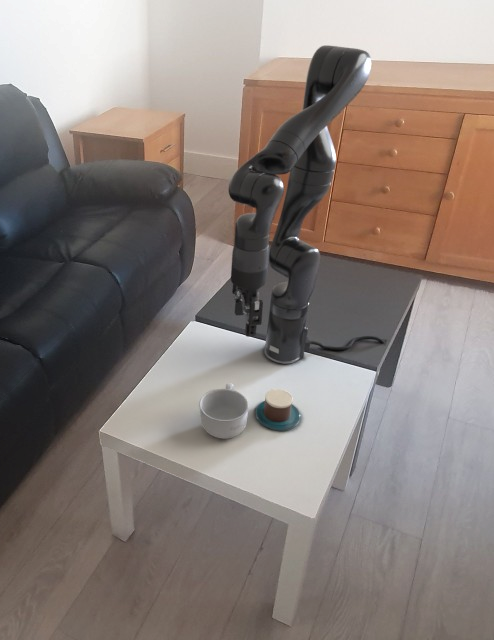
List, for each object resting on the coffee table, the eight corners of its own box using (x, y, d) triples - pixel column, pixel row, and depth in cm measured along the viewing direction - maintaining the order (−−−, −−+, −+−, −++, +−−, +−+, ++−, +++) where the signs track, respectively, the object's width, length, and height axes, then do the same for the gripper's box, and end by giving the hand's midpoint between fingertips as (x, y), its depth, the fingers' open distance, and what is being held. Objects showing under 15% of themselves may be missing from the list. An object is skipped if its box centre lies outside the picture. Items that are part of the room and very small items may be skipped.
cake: (285, 403, 142) (287, 387, 139) (293, 421, 137) (296, 405, 134) (260, 405, 142) (262, 390, 139) (267, 423, 137) (269, 407, 134)
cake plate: (291, 399, 144) (291, 396, 143) (305, 428, 136) (306, 426, 135) (250, 403, 144) (251, 400, 143) (262, 432, 136) (263, 430, 135)
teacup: (235, 451, 132) (238, 426, 127) (191, 435, 137) (191, 410, 132) (256, 413, 141) (259, 387, 136) (214, 399, 146) (215, 374, 141)
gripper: (278, 277, 120) (270, 341, 129) (257, 245, 131) (251, 306, 141) (241, 281, 119) (236, 345, 129) (223, 248, 131) (220, 309, 140)
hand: (244, 324), depth 135 cm, fingers open, 8 cm apart
